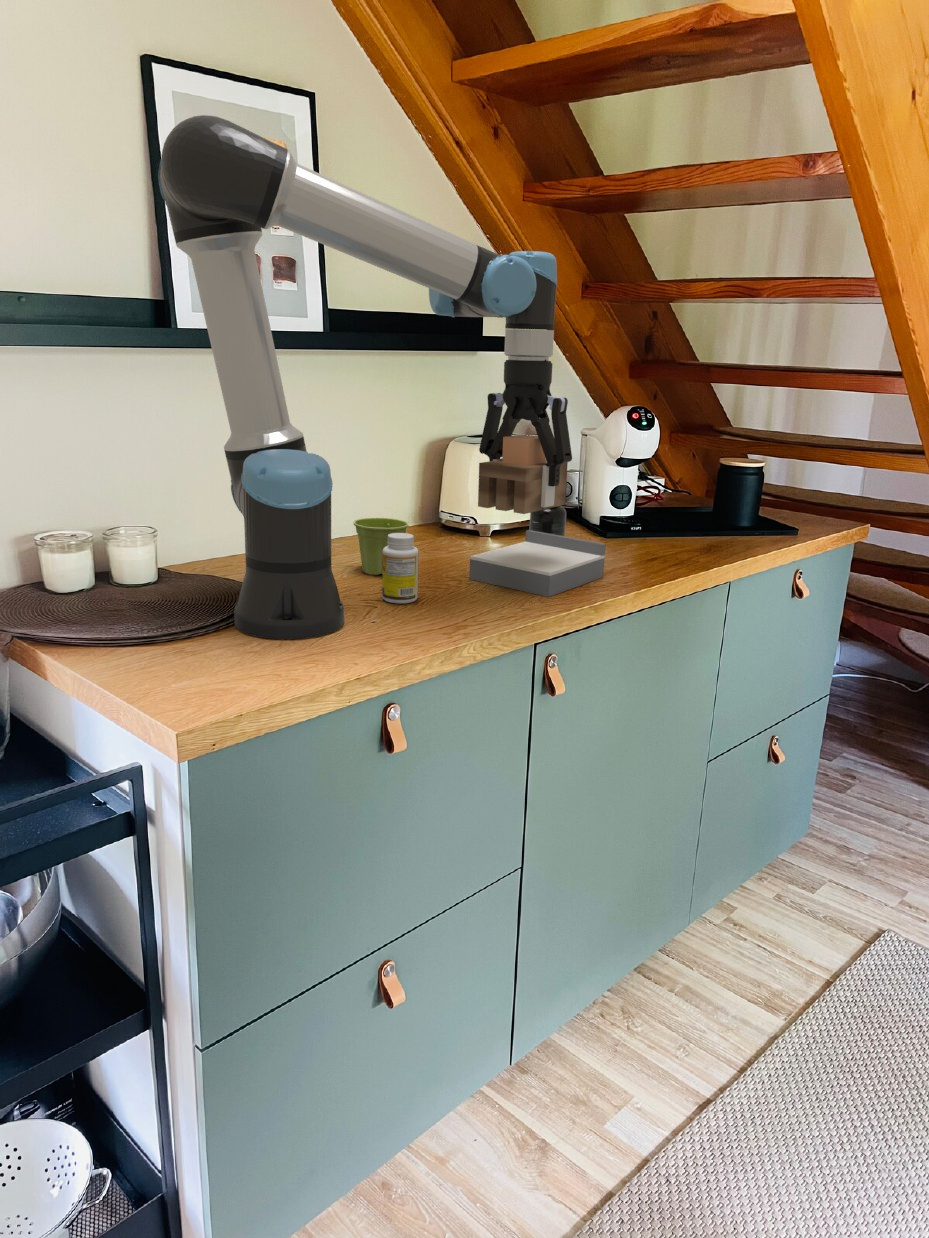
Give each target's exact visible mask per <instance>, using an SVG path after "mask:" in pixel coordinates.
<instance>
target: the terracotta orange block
mask: <svg viewBox="0 0 929 1238" xmlns="http://www.w3.org/2000/svg"><path fill="white" fill-rule="evenodd" d="M501 458H502V462H505V463H513V464H521V465H534V464H540V463H546V458H545V455H544V452H543V449H542V446H541V444H540V441H539V438H538V435H537V436H535V435H526V434H516V435H512V436H507V437H503V457H501Z"/></svg>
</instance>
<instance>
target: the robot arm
mask: <svg viewBox="0 0 929 1238" xmlns="http://www.w3.org/2000/svg"><path fill="white" fill-rule="evenodd" d="M160 156H161V159H160V162H159V164H158V166H159V167H158V175H157V176H158V177H157V179H158V186H159V190H160V194H161V197H162V199H163V201H164V203H165V205H166V208H167V212H168V216H169V220H170V225H171V229H172V233H173V237H174V242H175V245H176V248H178V249H180V250H181V251H182V252H183V253H184V254H185V255H188V257H189V258H190V259H191V260H190V261H191V264H192V265H191V266H192V268H193V273H194V278H195V282H196V287H197V290H198V296H199V299H200V303H201V307H202V312H203V316H204V320H205V325H206V329H207V333H208V334H207V335H208V338H209V342H210V347H211V350H212V355H213V359H214V364H215V369H216V373H217V377H218V383H219V387H220V390H221V396H222V399H223V403H224V408H225V411H226V416H227V420H228V425H229V428H230V429H229V430H230V436H229V437H228V439H227V441H226V443H225V444H224V445H223V451H224V455H225V459H226V463H227V468H228V472H229V476H230V483H231V485H230V492H231V496H232V500H233V502H234V504H235V506H236V507H237V509H238V511H239V512H240V513H241V514H242V516H243V521H244V522H243V523H244V549H245V550H244V554H245V572H244V576H243V579H242V580H243V581H242V585H241V588H240V591H239V596H238V601H237V602H236V604H235V606H234V611H233V612H234V613H233V616H234V627H235V628H236V629H237V630H238V631H240V632H241V633H244V634H246V635H250V636H254V637H257V638H258V637H259V638H264V639H265V638H266V639H276V640H277V639H278V640H279V639H280V640H294V639H295V640H298V639H309V638H315V637H320V636H321V637H322V636H325V635H328V634H331V633H333V632H336V631H338V630H340V629H341V628H343V626H344V624H345V606H344V603H343V601H342V600H341V599H340V593H339V588H338V585H337V583H336V580H335V576H334V573H333V570H332V568H333V567H332V491H333V479H332V476H331V475H332V474H331V467H330V464H329V461H327V460H326V459H325V458H324V457H323V456H320V455H318V454H316V453H313V452H310V453H309V452H308V451H307V446H306V442H305V437H304V433H303V432H302V431H301V430H299V429H298V428H297V427H296V426H294V425H293V424H292V423H291V420H290V416H289V410H288V406H287V401H286V396H285V391H284V388H283V383H282V382H283V381H282V378H281V373H280V367H279V363H278V358H277V354H276V353H277V352H276V348H275V343H274V338H273V334H272V330H271V323H270V319H269V315H268V309H267V304H266V301H265V295H264V291H263V286H262V281H261V276H260V271H259V266H258V261H257V256H256V252H255V250H256V246H257V244H258V242H259V241H260V240H261V238H262V237H263V230H269V229H270V228H273V227H275V226H278V227H281V228H282V229H285V230H287V231H290V232H292V233H295V234H297V235H300V236H303V237H305V238H307V239H309V240H311V241H314V242H316V243H319V244H321V245H324V246H326V247H329V248H331V249H334V250H336V251H338V252H341V253H343V254H345V255H348V256H350V257H353V258H355V259H358V260H360V261H363V262H364V263H367V264H370V265H372V266H375V267H377V268H379V269H382V270H383V271H387V272H389V273H392V274H393V275H397V276H399V277H402V278H403V279H406V280H408V281H411V282H414V283H416V284H418V285H421V286H423V287H425V288H427V289H428V299H429V305H430V308H431V310H432V312H433V313H434V314H435V315H437V316H445V317H446V316H447V317H451V318H455V317H460V318H461V317H462V318H463V317H464V318H465V317H466V318H468V317H469V318H499V319H500V318H505V327H504V328H505V330H504V331H505V332H504V333H505V334H504V352H503V354H504V355H505V356H506V357H508V358H507V359H506V360H505V361H504V362H503V363H504V364H503V382H504V385H505V387H504V390H503V393H501V392H493V393H488V394H487V412H486V416H485V421H484V425H483V430H482V434H481V435H482V436H481V439H480V445H479V449H478V451H479V454H481V455H485V456H487V458H488V459H489V460H488V462H489V461H495V460H502V457H503V437H507V436H513V434H514V431H515V429H516V428H517V425H518V423H520V421H521V420H526V421H530V423H531V425H532V426H533V427H534V428H535V432H536V435H537V436H538V438H539V441H540V444H541V446H542V449H543V452H544V455H545V458H546V460H547V463H546V464H545V466H543V475H542V495H541V507H549V506H554V497H555V486H558V485H559V480H560V466H561V465H562V464H563V463H566V462H568V463H571V461H572V459H573V453H572V447H571V438H570V433H569V426H568V419H567V418H568V417H567V408H568V398H567V397H556V396H553V395H552V394H551V390H550V389H551V383H552V381H553V379H552V378H553V363H552V361H551V360H549V358H551V357H552V356H553V354H554V339H555V338H554V337H555V316H556V315H555V314H556V298H557V288H558V268H557V267H558V265H557V258H556V257H555V255H554V254H552V253H550V252H546V251H532V250H531V251H529V250H524V251H523V250H522V251H520V250H519V251H512V252H510V253H509V254H499V253H496V252H494V251H492V250H489V249H487V248H485V247H483V246H480V245H478V244H475V243H473V242H471V241H469V240H467V239H465V238H463V237H460V236H458V235H456V234H454V233H451V232H449V231H447V230H445V229H443V228H440V227H438V226H436V225H434V224H432V223H430V222H427V221H426V220H423V219H420V218H419V217H416V216H413V215H411V214H409V213H407V212H405V211H403V210H401V209H398V208H396V207H395V206H393V205H390V204H388V203H386V202H383V201H381V200H378V199H376V198H375V197H373V196H370V195H367V194H365V193H363V192H362V191H359V190H357V189H354V188H352V187H350V186H348V185H346V184H343V183H341V182H339V181H338V180H335V179H333V178H330V177H328V176H326V175H323V174H321V173H320V172H317V171H315V170H312V169H310V168H308V167H306V166H303V165H301V164H300V163H297V162H296V160H295V159H294V156H293V154H292V152H291V150H290V149H288V148H286V147H284V146H282V145H279V144H276V143H275V142H272V141H271V140H268V139H266V138H265V137H262V136H261V135H260V134H259V135H258V134H257V133H255V132H252V131H251V130H249V129H247V128H245V127H243V126H240V125H239V124H236V123H234V122H233V121H231V120H227V119H225V118H221V117H219V116H215V115H207V114H205V115H204V114H203V115H195V116H192V117H188V118H186V119H184V120H182V121H180V122H179V123H178V124H177V125H175V126H174V127H173V128H172V129H171V131H170V132H169V134H168V135H167V137H166V138H165V141H164V143H163V148H162V150H161V155H160ZM262 229H263V230H262ZM504 405H506V407H507V408H506V409H505V412H504V414H503V411H504V409H503V408H504V407H503V406H504ZM548 407H549V408H548ZM547 409H549V410H550V411H551V412H550V415H551V424H552V428H551V425H550V417H549V414H548V412H547ZM502 415H503V416H502ZM501 418H502V422H501ZM500 423H501V424H500Z"/></svg>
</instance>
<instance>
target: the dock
mask: <svg viewBox="0 0 929 1238" xmlns="http://www.w3.org/2000/svg"><path fill="white" fill-rule="evenodd" d="M606 547H607V544H606V543H603V542H599V541H598V542H597V541H592V540H588V539H582V538H576V537H570V536H566V535H565V536H560V535H554V534H549V533H543V532H537V531H532V530H529V529H528V530H525V541H522V542H521V541H520V542H518V543H515V544H510V545H506V546H504V547H503V546H502V547H500V548H499V547H498V548H494V549H493V550H488V551H484V552H481V553H476V554H474V555H469V569H468V571H469V573H468V575H469V576H468V579H469V580H472V581H477V582H480V583H485V584H490V585H494V586H498V587H504V588H506V589H507V588H508V589H511V590H515V591H516V590H517V591H521V592H524V593H528V594H533V595H537V596H538V595H539V596H541V597H545V598H546V597H547V598H550V597H553V596H555V595H558V594H561V593H563V592H566V591H569V590H571V589H574V588H577V587H580V586H583V585H586V584H589V583H591V582H594V581H596V580H599V579H602V578H604V571H605V559H606Z"/></svg>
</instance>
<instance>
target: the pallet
mask: <svg viewBox="0 0 929 1238" xmlns="http://www.w3.org/2000/svg"><path fill="white" fill-rule="evenodd" d="M546 463H547V460H546ZM546 463H540V464H534V465H521V464H513V463H505V462H502V460H495V461H489V460H488V461H483V462H478V491H477V492H478V493H477V507H479V508H485V509H490V508H495V510H497V511H501V512H502V511H503V512H507V511H512V510H513V513H514V514H515V513H516V514H521V515H526V514H530V513H531V512H535V511H540V510H544V509H548V508H552V507H556V506H564V505H566V500H567V499H566V497H567V495H566V494H567V483H568V482H567V479H568V478H567V477H568V463H569V462H566V463H563V464H562V465H561V466H560V480H559V485H558V486H555V497H554V506H549V507H541V495H542V475H543V466H545V464H546Z"/></svg>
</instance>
